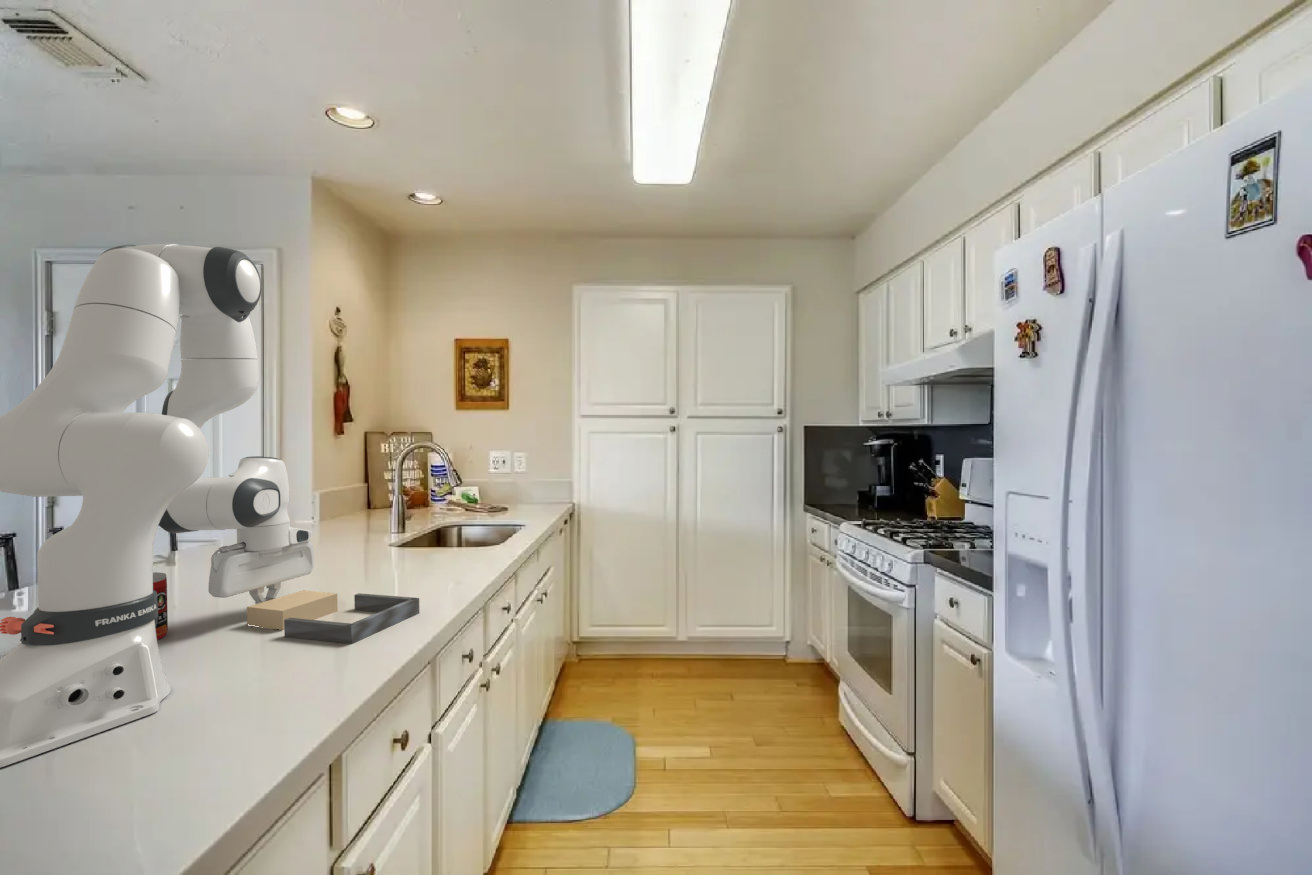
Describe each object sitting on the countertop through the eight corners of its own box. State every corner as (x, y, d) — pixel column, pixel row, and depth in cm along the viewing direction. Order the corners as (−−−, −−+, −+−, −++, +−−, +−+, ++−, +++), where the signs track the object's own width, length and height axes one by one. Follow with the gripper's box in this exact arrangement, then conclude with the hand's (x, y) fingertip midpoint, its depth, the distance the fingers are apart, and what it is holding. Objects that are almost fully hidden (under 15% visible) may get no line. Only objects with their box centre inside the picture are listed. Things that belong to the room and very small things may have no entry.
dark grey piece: (352, 643, 100) (351, 626, 100) (284, 636, 104) (284, 619, 104) (419, 613, 117) (419, 598, 117) (359, 607, 121) (358, 593, 121)
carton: (283, 632, 108) (282, 610, 108) (247, 628, 111) (246, 606, 111) (337, 613, 119) (337, 593, 119) (303, 609, 122) (303, 590, 122)
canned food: (142, 647, 100) (140, 582, 100) (96, 647, 100) (94, 583, 100) (179, 631, 108) (178, 571, 108) (136, 631, 108) (135, 572, 108)
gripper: (225, 549, 106) (226, 626, 106) (318, 530, 125) (320, 595, 125) (198, 547, 107) (200, 623, 108) (295, 529, 127) (296, 593, 127)
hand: (265, 608), depth 117 cm, fingers closed
